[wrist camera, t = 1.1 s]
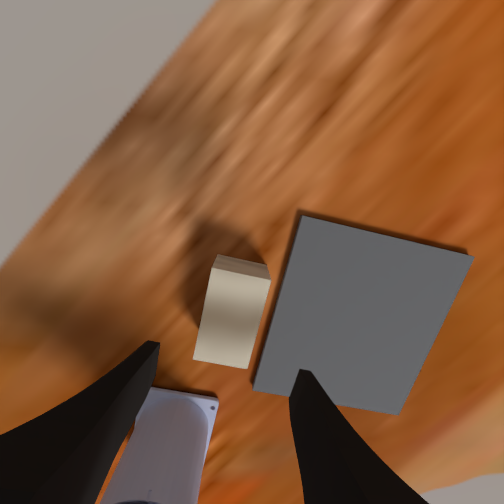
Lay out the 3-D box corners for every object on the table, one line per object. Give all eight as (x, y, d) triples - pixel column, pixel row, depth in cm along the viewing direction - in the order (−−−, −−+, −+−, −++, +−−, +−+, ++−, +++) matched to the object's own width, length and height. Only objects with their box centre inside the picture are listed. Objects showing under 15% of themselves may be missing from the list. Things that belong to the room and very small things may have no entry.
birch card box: (246, 339, 24) (247, 369, 20) (201, 331, 23) (192, 359, 19) (266, 264, 22) (271, 280, 18) (217, 253, 21) (211, 267, 17)
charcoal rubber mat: (395, 410, 26) (398, 415, 25) (252, 385, 25) (252, 390, 24) (468, 255, 22) (474, 256, 21) (300, 214, 20) (302, 215, 20)
